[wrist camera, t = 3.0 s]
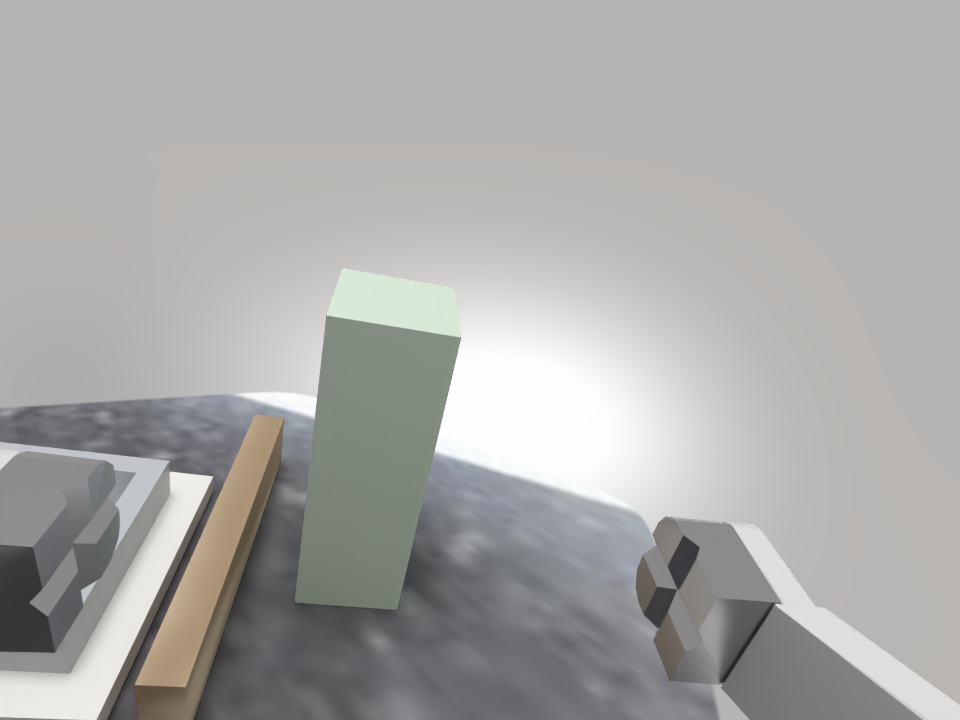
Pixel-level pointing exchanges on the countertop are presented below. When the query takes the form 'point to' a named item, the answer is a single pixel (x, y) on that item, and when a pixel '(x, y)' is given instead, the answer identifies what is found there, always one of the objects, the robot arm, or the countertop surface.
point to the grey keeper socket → (110, 595)
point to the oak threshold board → (210, 582)
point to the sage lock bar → (374, 436)
